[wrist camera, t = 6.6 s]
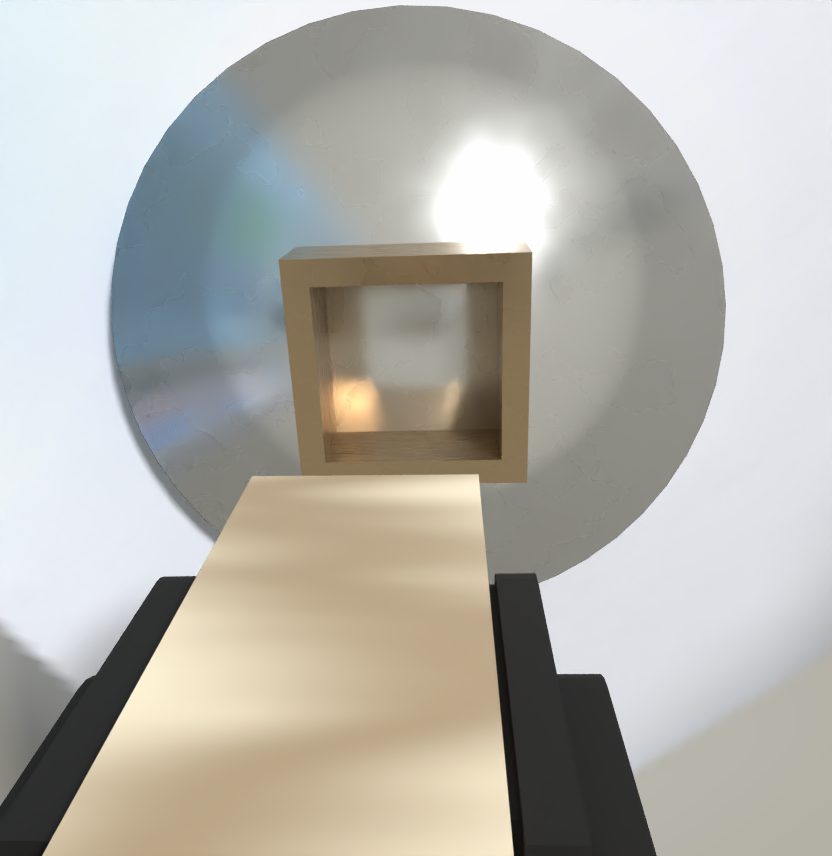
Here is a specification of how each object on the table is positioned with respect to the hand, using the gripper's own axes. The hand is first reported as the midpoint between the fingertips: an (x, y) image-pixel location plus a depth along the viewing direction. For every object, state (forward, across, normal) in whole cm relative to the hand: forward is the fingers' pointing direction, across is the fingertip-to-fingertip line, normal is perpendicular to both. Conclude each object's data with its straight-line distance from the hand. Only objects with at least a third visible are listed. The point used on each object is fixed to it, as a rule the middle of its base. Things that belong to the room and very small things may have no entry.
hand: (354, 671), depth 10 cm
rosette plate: (+16, 0, 0) cm, 16 cm away
